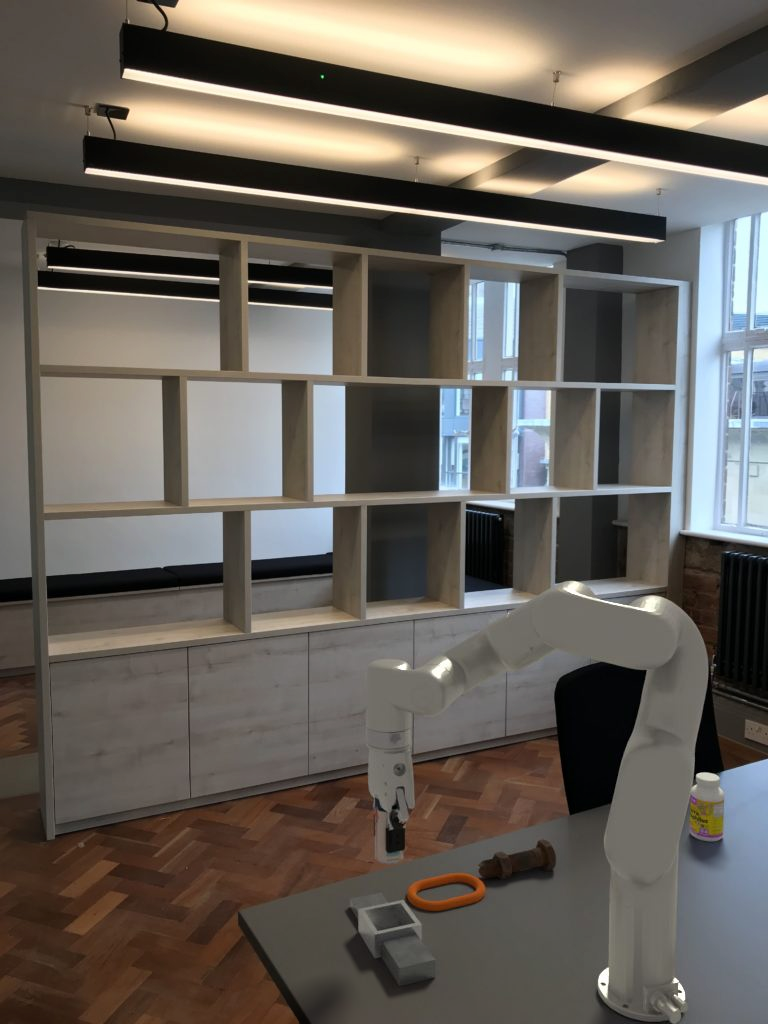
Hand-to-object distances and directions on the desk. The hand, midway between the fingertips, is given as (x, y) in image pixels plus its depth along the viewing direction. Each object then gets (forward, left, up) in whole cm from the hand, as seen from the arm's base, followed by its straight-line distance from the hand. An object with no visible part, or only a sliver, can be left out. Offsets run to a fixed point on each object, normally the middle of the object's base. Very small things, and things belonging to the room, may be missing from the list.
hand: (389, 842), depth 142 cm
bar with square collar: (0, 0, -17) cm, 17 cm away
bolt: (+13, -31, -17) cm, 37 cm away
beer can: (0, 0, -3) cm, 3 cm away
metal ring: (+10, -15, -17) cm, 25 cm away
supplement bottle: (+12, -76, -17) cm, 79 cm away
